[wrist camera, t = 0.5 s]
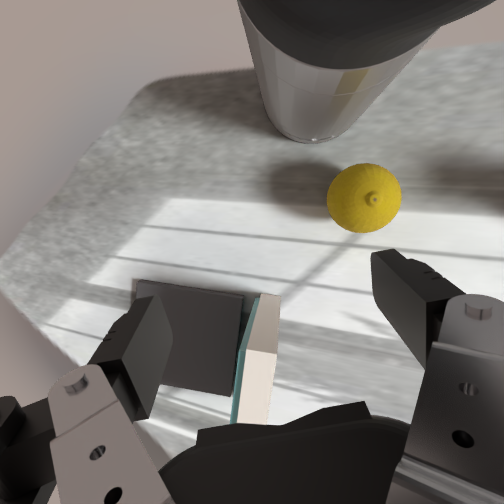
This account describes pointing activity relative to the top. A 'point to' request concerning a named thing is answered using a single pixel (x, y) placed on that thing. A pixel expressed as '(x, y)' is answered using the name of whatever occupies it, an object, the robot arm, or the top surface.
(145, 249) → the top surface
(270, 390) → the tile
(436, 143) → the top surface
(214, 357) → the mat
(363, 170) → the lemon
